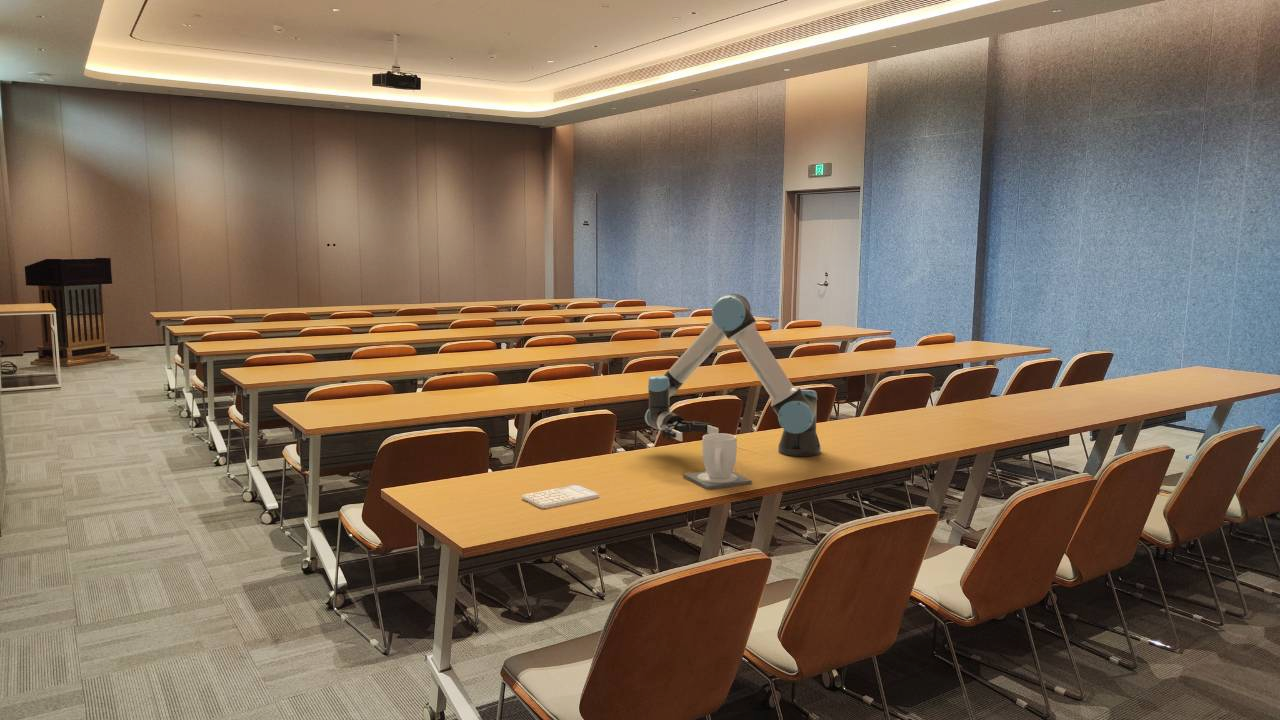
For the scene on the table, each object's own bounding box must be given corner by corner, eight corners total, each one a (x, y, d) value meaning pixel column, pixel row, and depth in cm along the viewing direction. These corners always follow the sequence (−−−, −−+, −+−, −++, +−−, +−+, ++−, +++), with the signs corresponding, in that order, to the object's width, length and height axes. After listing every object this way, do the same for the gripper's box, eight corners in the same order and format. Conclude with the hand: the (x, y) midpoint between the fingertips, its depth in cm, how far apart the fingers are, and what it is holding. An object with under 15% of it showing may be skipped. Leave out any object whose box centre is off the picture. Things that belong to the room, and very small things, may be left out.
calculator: (520, 500, 258) (520, 494, 258) (577, 489, 270) (577, 483, 269) (542, 511, 247) (542, 504, 247) (600, 498, 259) (600, 492, 259)
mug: (735, 485, 267) (735, 443, 265) (699, 483, 269) (699, 442, 267) (737, 472, 282) (737, 433, 280) (703, 471, 283) (703, 432, 282)
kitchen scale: (726, 471, 287) (726, 468, 287) (751, 483, 273) (751, 479, 273) (683, 477, 281) (683, 473, 281) (707, 489, 266) (707, 485, 266)
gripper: (702, 430, 310) (732, 441, 290) (639, 438, 300) (666, 450, 280) (702, 409, 309) (732, 419, 289) (638, 416, 299) (665, 427, 279)
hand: (699, 434), depth 285 cm, fingers open, 13 cm apart
